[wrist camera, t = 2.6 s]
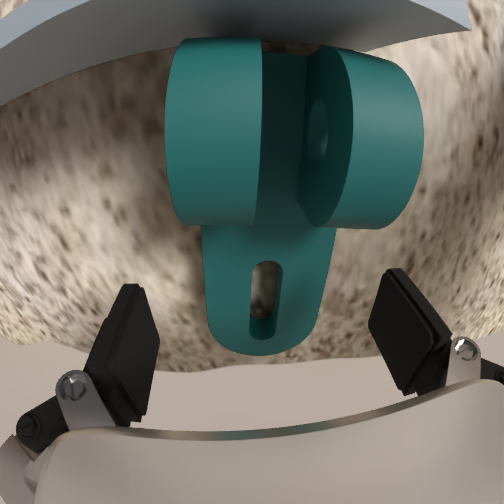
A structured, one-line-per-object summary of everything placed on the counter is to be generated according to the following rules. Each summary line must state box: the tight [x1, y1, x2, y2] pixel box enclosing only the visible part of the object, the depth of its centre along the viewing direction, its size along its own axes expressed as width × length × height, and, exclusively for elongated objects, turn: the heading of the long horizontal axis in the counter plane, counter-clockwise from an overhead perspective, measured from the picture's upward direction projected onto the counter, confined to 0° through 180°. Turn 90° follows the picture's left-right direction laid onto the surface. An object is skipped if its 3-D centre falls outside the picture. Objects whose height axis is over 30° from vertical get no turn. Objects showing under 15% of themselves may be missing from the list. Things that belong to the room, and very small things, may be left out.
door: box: [0, 0, 471, 106], centre depth 6 cm, size 22×1×8 cm, turn 91°
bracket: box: [164, 37, 424, 356], centre depth 12 cm, size 18×7×8 cm, turn 178°
